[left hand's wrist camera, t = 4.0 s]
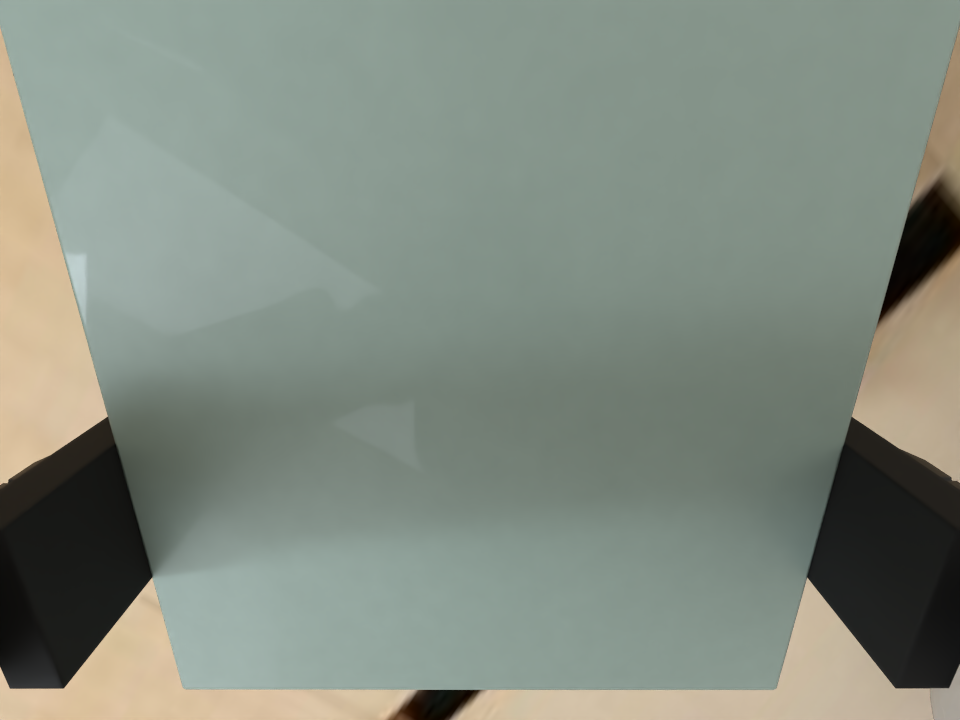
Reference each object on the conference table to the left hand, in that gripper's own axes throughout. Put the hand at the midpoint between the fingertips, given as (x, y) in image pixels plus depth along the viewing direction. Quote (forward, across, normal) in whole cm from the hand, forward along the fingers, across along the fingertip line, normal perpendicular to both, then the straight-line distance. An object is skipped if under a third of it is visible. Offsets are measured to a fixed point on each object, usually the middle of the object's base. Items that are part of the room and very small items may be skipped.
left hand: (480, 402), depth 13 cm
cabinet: (+6, 0, -6) cm, 8 cm away
